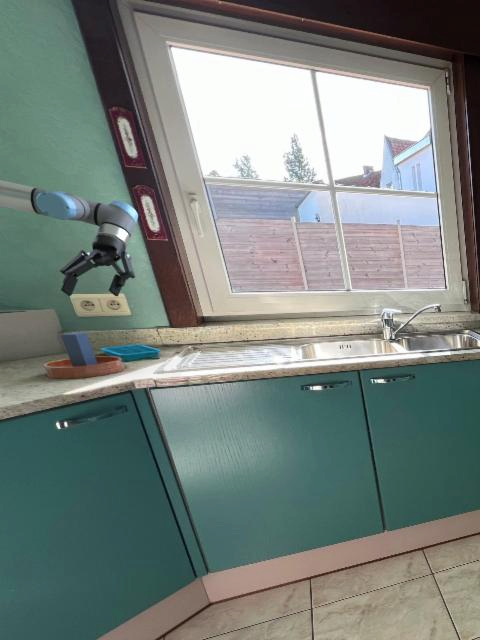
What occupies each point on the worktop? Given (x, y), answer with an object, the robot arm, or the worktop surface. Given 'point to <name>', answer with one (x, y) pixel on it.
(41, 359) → the worktop surface
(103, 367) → the bowl
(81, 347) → the block
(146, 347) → the ice cube tray
